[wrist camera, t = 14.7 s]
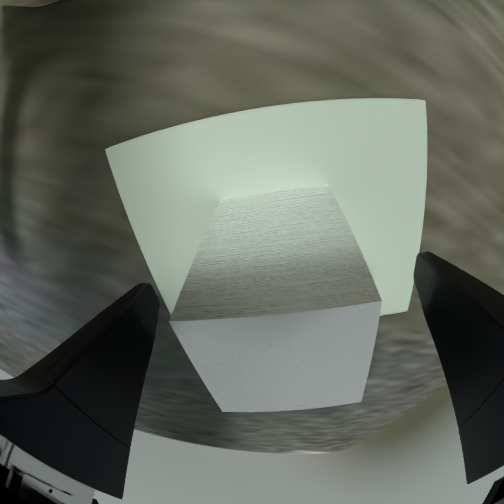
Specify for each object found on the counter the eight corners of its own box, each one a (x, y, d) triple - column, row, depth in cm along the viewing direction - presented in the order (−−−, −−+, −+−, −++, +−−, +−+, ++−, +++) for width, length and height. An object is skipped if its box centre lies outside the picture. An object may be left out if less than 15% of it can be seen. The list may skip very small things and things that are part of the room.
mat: (417, 99, 8) (425, 100, 7) (403, 303, 13) (407, 310, 13) (112, 145, 10) (104, 149, 9) (182, 325, 15) (180, 333, 15)
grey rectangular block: (329, 185, 10) (382, 301, 5) (333, 274, 12) (360, 401, 7) (219, 200, 10) (168, 321, 5) (241, 284, 12) (222, 411, 7)
